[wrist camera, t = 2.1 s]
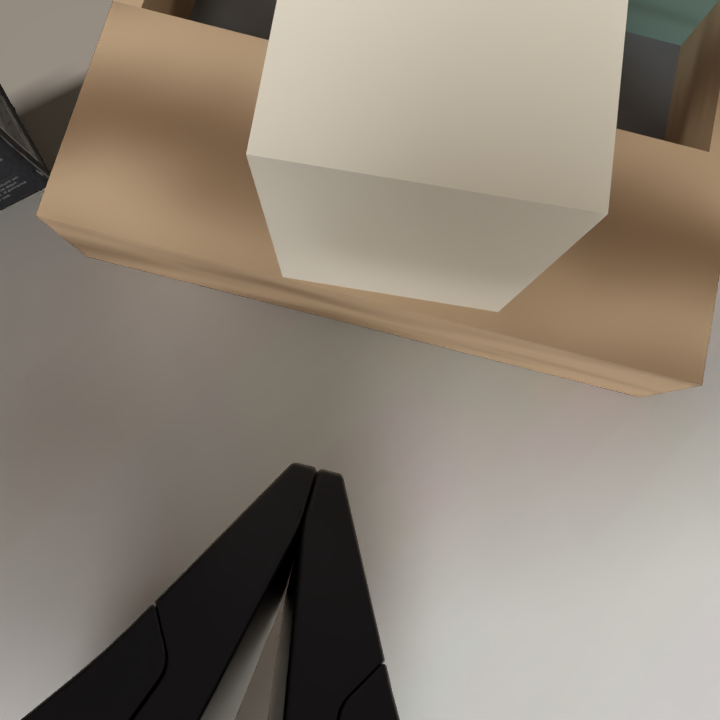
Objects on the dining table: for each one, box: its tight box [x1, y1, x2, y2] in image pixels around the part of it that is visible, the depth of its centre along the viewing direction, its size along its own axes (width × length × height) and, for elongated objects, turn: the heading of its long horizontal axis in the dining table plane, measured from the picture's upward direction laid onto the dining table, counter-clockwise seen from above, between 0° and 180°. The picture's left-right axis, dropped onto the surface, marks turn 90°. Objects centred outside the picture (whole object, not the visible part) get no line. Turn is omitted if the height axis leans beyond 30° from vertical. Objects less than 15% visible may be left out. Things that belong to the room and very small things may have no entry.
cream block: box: [246, 0, 628, 312], centre depth 16 cm, size 8×7×8 cm
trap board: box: [36, 0, 720, 397], centre depth 23 cm, size 23×22×4 cm
